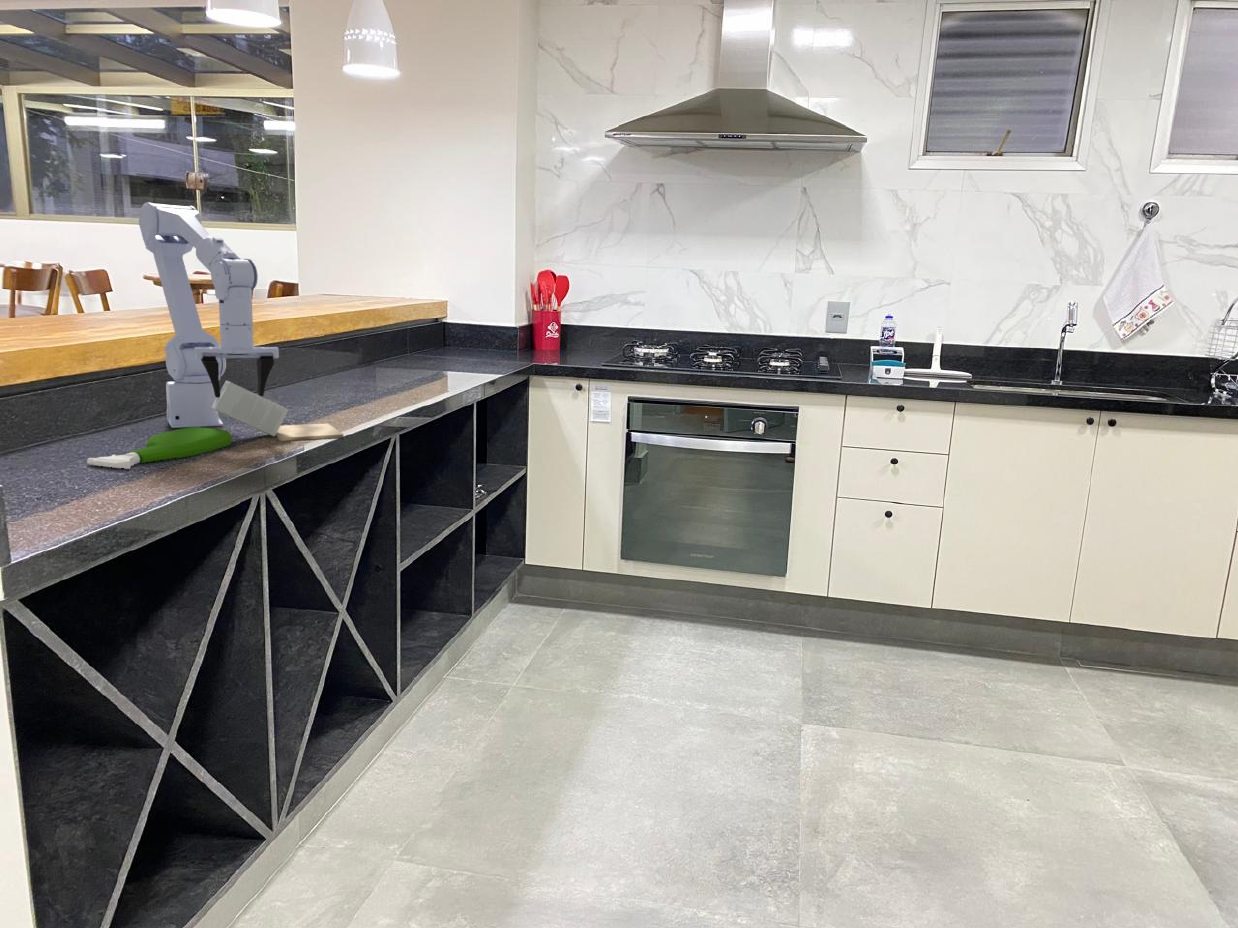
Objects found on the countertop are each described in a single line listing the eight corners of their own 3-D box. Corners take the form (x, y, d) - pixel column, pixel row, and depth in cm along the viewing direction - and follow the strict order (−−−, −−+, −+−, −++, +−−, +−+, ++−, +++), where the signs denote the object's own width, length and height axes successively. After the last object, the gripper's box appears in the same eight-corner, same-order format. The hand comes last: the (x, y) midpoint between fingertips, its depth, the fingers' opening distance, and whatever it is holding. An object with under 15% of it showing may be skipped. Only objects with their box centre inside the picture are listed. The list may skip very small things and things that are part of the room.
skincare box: (284, 407, 175) (226, 379, 168) (289, 410, 172) (230, 381, 165) (269, 434, 174) (210, 407, 168) (274, 437, 171) (214, 410, 164)
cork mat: (280, 440, 169) (280, 437, 169) (267, 429, 179) (267, 426, 179) (343, 437, 175) (343, 434, 175) (328, 426, 185) (328, 423, 185)
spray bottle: (238, 446, 164) (135, 477, 141) (188, 440, 167) (79, 469, 144) (237, 431, 163) (133, 459, 140) (187, 425, 166) (78, 451, 143)
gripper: (196, 325, 159) (200, 400, 162) (281, 326, 166) (283, 397, 169) (191, 322, 165) (195, 394, 168) (273, 323, 172) (276, 392, 175)
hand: (239, 395), depth 169 cm, fingers open, 7 cm apart
